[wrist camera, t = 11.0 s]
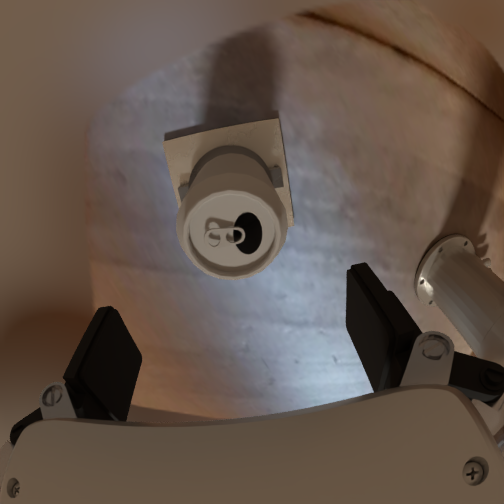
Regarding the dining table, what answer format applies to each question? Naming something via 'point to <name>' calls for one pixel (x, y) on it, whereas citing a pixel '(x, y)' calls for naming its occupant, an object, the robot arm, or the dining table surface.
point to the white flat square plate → (224, 142)
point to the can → (232, 218)
